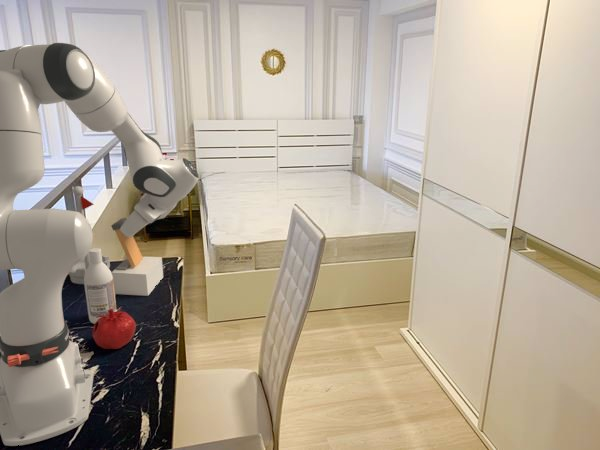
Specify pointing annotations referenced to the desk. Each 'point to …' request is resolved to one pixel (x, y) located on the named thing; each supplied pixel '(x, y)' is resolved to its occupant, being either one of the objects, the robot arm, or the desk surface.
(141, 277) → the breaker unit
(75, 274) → the flag stand
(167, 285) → the desk surface
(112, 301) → the bath foam
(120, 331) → the pomegranate
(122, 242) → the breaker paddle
